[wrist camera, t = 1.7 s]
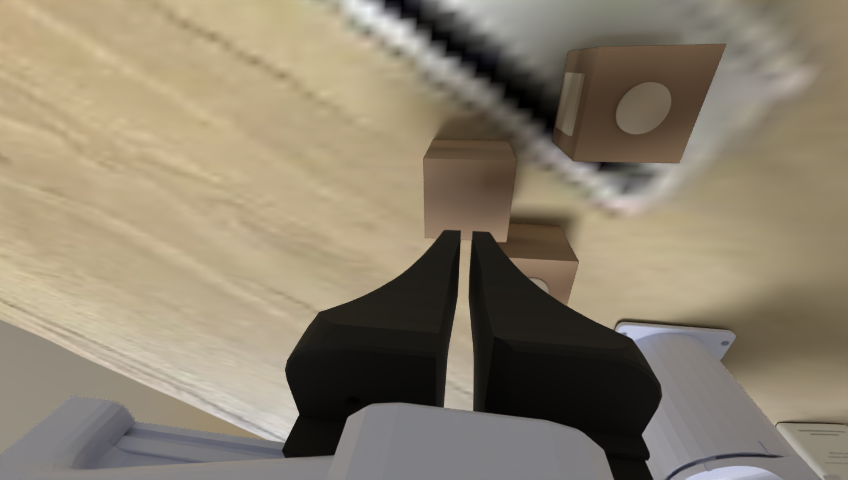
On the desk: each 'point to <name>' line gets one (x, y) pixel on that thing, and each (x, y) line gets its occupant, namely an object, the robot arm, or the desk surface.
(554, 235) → the marked block 2
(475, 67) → the desk surface
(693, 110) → the marked block 1
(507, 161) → the plain block
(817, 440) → the ink box
